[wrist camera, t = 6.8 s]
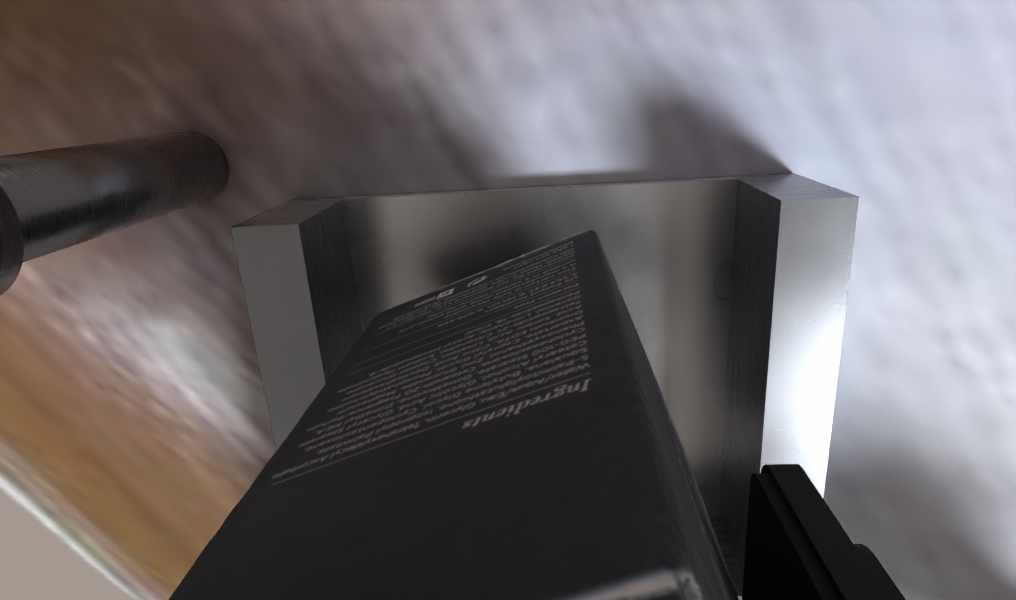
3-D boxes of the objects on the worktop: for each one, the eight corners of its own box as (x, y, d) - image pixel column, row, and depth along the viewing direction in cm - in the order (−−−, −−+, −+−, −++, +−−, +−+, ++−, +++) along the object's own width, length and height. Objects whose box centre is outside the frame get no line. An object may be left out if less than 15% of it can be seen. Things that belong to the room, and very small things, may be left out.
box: (371, 311, 15) (18, 762, 5) (595, 221, 14) (716, 557, 4) (502, 563, 17) (440, 1233, 7) (704, 500, 16) (964, 1178, 6)
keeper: (154, 134, 16) (-109, 166, 10) (800, 93, 15) (995, 101, 9) (252, 551, 21) (114, 769, 14) (762, 547, 19) (872, 785, 13)
